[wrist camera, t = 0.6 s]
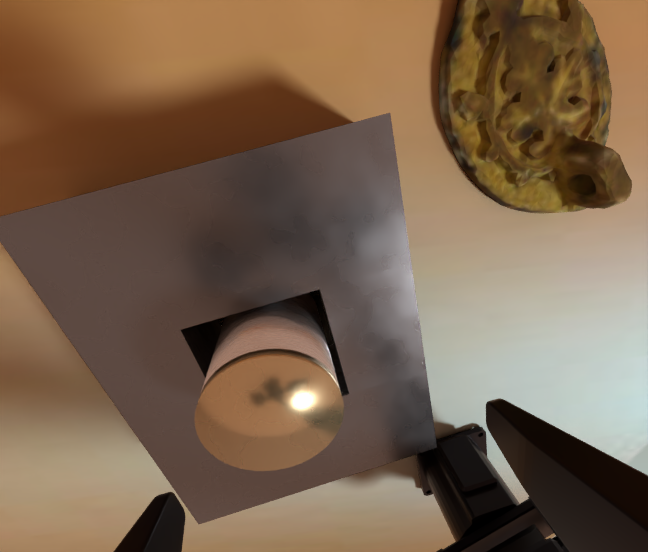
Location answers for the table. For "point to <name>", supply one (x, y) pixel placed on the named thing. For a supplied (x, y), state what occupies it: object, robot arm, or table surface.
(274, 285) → the housing
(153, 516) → the robot arm
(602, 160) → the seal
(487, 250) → the table surface
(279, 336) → the end cover
